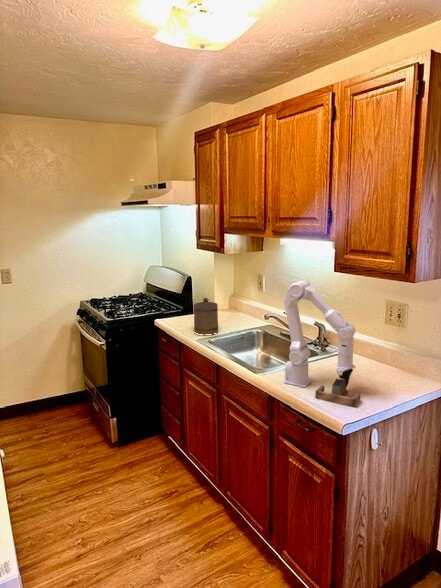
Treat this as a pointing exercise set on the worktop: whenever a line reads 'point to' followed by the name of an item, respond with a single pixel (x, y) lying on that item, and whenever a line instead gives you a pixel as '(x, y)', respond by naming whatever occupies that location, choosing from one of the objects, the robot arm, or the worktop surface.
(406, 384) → the worktop surface
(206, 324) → the wooden container
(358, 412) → the worktop surface
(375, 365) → the worktop surface
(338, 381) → the electronic device
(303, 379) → the robot arm
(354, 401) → the cradle
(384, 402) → the worktop surface
